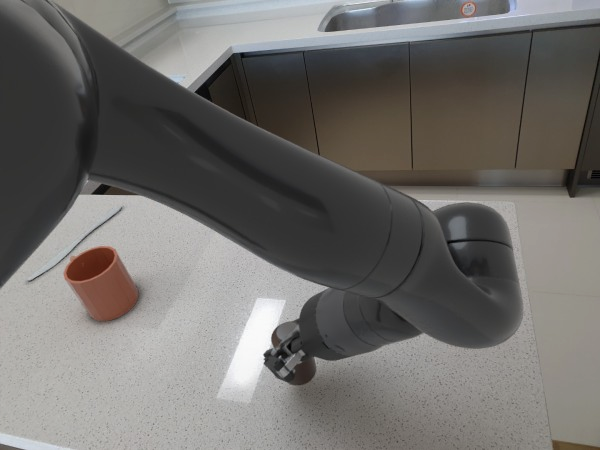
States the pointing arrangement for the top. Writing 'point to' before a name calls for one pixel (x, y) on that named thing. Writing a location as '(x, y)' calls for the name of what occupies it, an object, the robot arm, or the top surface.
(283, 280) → the top surface
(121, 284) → the terracotta plant pot
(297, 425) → the top surface
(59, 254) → the butter knife
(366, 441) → the top surface
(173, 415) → the top surface
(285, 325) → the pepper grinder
